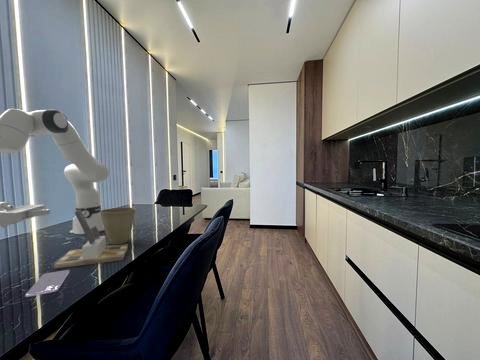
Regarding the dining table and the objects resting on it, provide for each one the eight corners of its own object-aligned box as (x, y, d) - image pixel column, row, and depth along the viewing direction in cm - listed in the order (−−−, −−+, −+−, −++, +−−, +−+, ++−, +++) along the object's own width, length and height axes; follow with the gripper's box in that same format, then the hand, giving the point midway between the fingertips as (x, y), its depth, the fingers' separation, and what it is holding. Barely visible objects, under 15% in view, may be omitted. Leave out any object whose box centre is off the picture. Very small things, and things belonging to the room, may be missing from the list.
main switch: (92, 241, 91) (77, 210, 88) (96, 240, 91) (81, 209, 89) (89, 244, 87) (73, 212, 85) (93, 243, 88) (77, 210, 85)
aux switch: (97, 236, 97) (92, 226, 96) (100, 235, 98) (96, 225, 97) (95, 239, 94) (90, 229, 93) (98, 237, 94) (93, 227, 93)
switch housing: (92, 248, 97) (92, 237, 97) (106, 247, 99) (105, 235, 99) (82, 260, 85) (82, 247, 85) (97, 258, 87) (97, 245, 86)
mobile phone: (70, 268, 80) (56, 289, 66) (70, 271, 80) (57, 292, 67) (43, 272, 77) (23, 295, 63) (43, 275, 77) (23, 298, 63)
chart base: (70, 253, 96) (70, 249, 96) (128, 247, 103) (127, 243, 103) (54, 268, 82) (54, 264, 81) (122, 260, 89) (122, 255, 88)
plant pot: (134, 245, 105) (132, 211, 104) (97, 249, 101) (95, 213, 100) (138, 236, 120) (137, 206, 119) (106, 239, 115) (104, 208, 114)
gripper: (18, 217, 89) (60, 215, 94) (-22, 230, 70) (33, 227, 74) (17, 201, 89) (59, 200, 93) (-24, 210, 70) (32, 207, 74)
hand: (48, 212), depth 84 cm, fingers closed
